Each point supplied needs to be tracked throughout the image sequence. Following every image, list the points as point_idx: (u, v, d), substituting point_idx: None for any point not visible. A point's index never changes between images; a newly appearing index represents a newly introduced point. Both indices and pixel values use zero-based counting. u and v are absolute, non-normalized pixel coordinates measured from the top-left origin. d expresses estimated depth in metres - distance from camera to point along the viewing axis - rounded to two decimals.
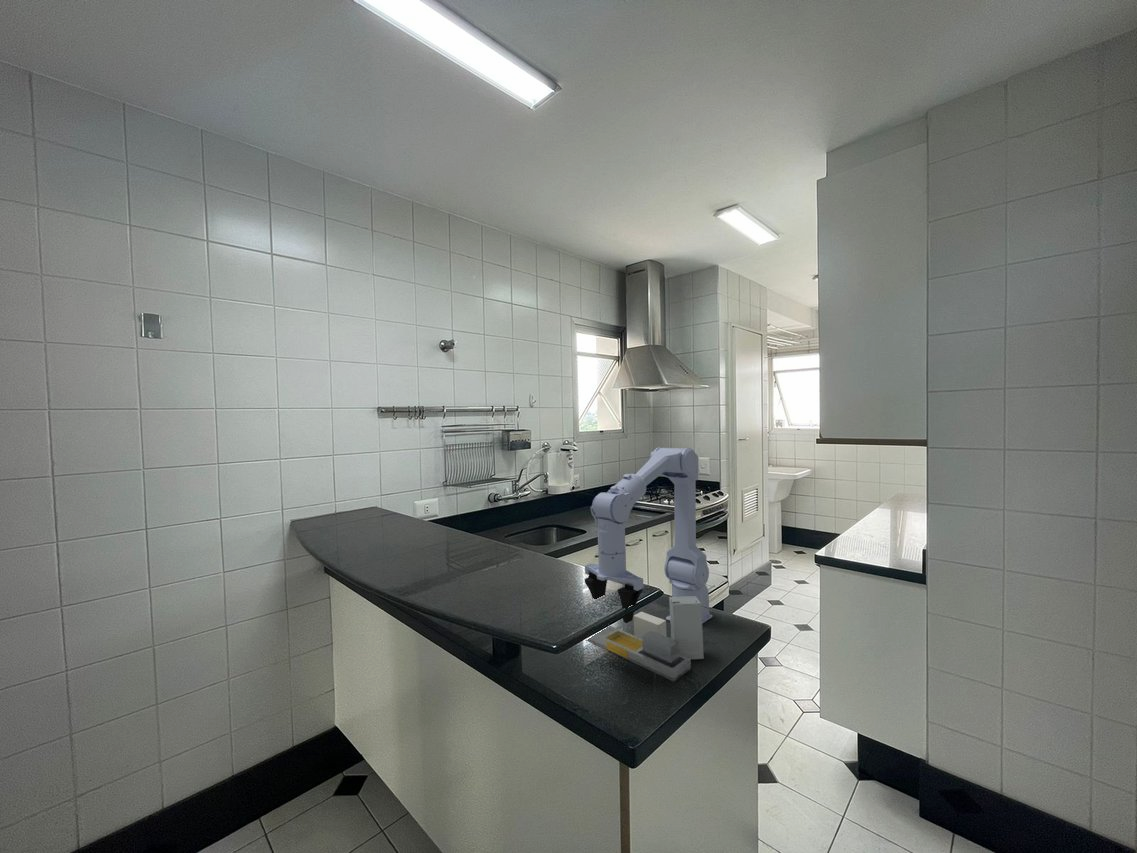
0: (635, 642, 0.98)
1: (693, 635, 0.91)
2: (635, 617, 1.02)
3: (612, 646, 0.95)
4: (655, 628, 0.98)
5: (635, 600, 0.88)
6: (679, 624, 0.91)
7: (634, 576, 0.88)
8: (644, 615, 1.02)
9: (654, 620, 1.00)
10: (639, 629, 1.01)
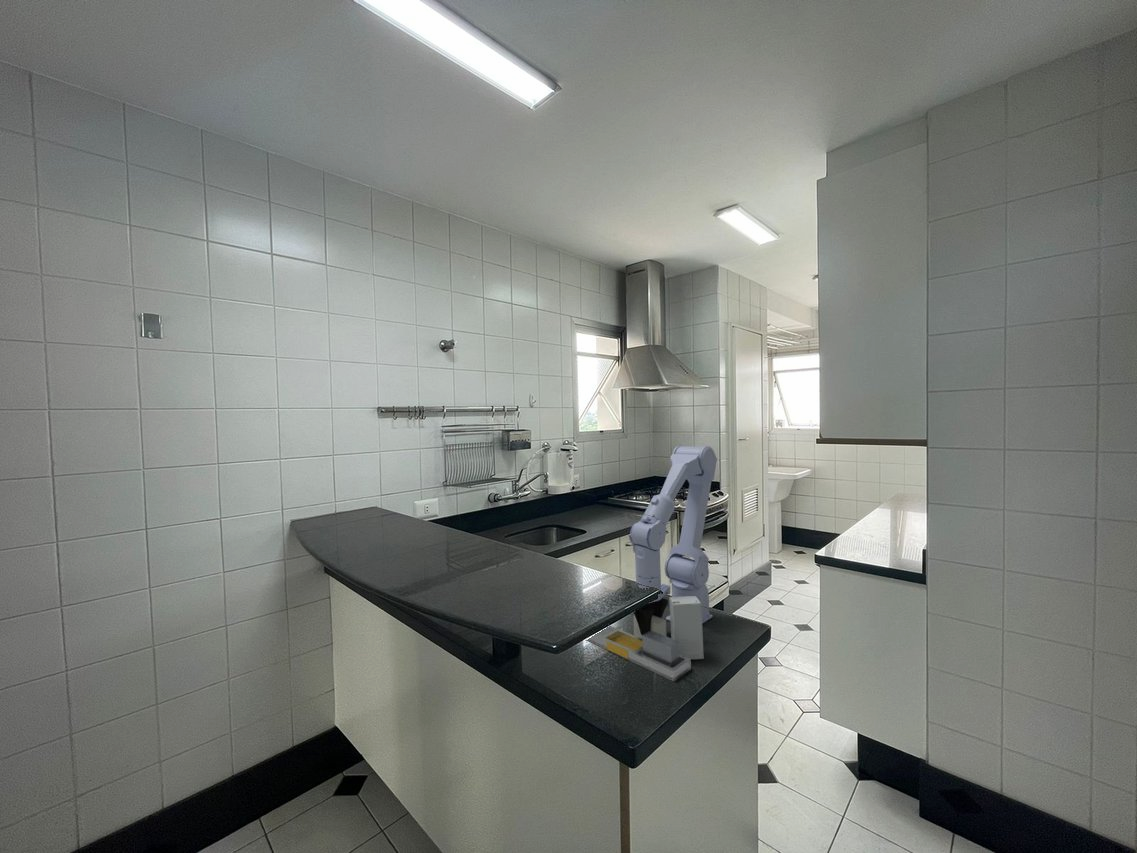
0: (635, 642, 0.98)
1: (693, 635, 0.91)
2: (635, 617, 1.02)
3: (612, 646, 0.95)
4: (655, 627, 0.98)
5: (646, 620, 0.98)
6: (679, 624, 0.91)
7: None
8: None
9: (654, 619, 1.00)
10: None
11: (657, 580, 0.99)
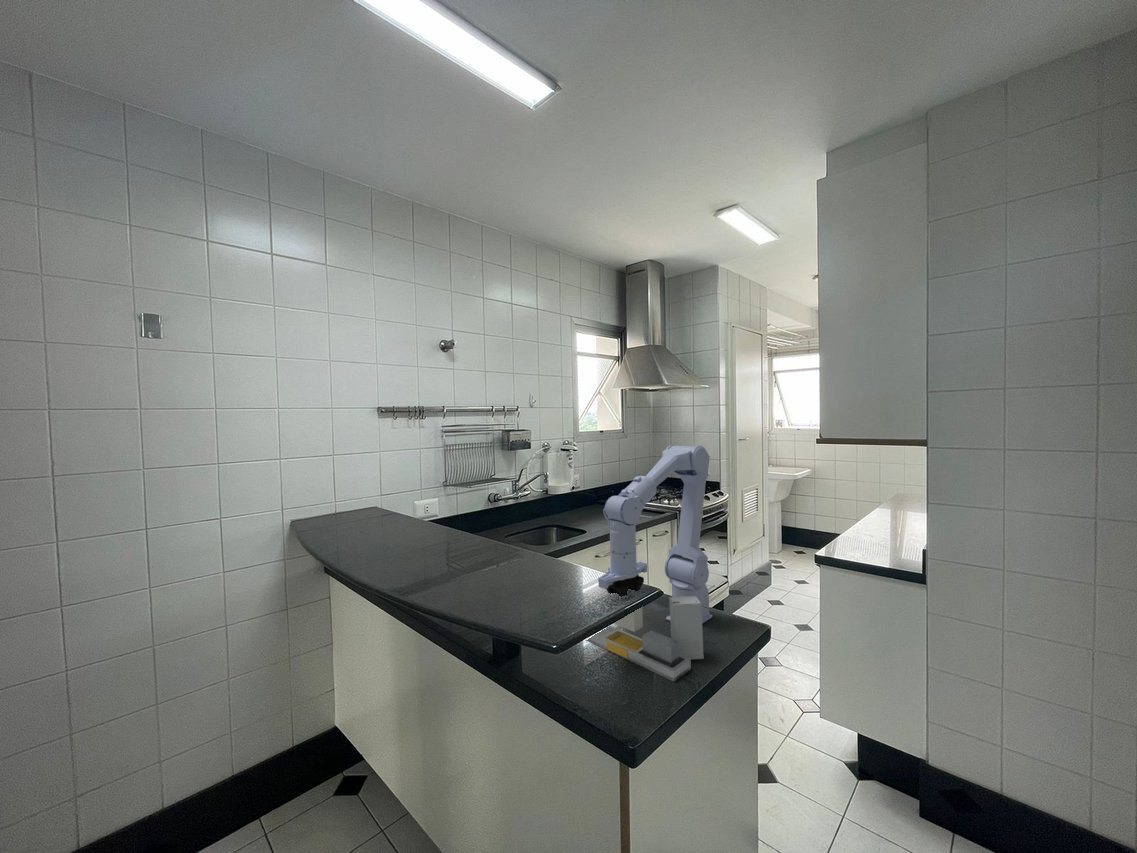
0: (635, 642, 0.98)
1: (693, 635, 0.91)
2: None
3: (612, 646, 0.95)
4: None
5: None
6: (679, 624, 0.91)
7: (613, 578, 0.92)
8: None
9: None
10: None
11: (632, 556, 0.94)
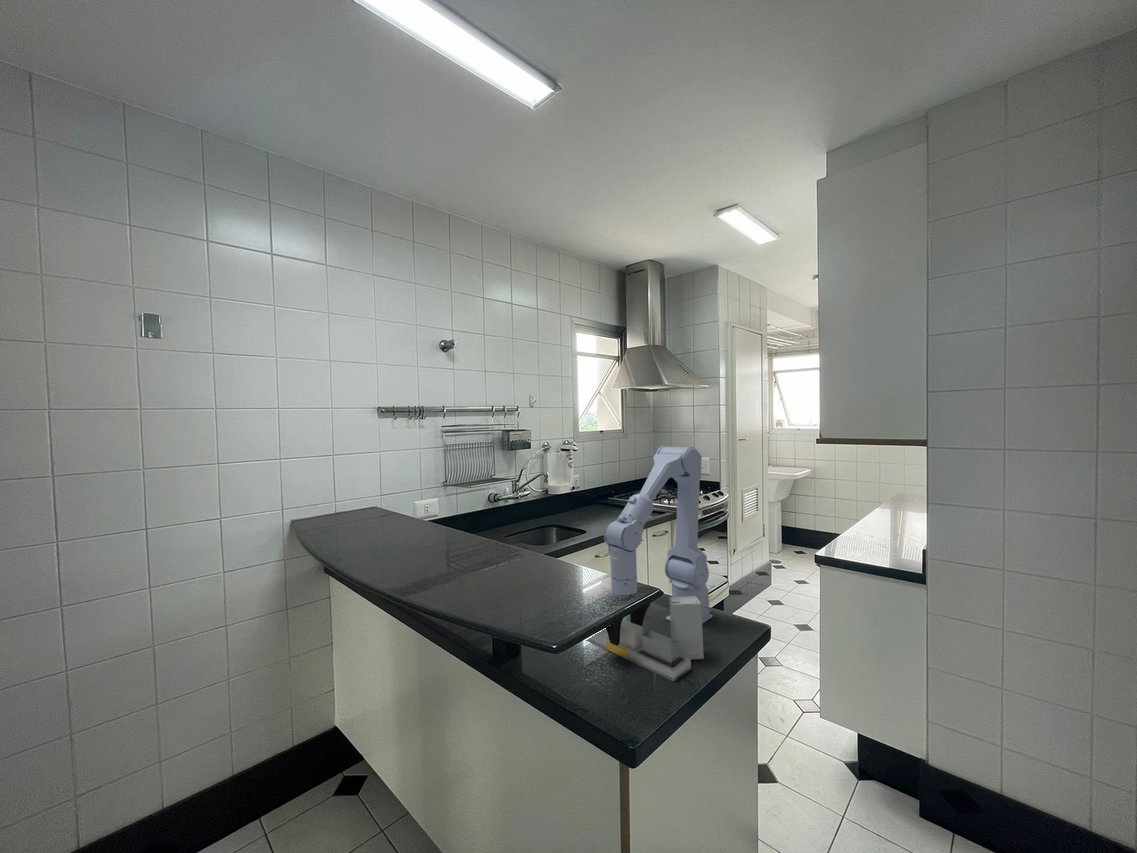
0: None
1: (693, 635, 0.91)
2: None
3: (612, 646, 0.95)
4: (631, 634, 0.93)
5: None
6: (679, 624, 0.91)
7: None
8: None
9: (631, 626, 0.95)
10: None
11: (633, 582, 0.94)
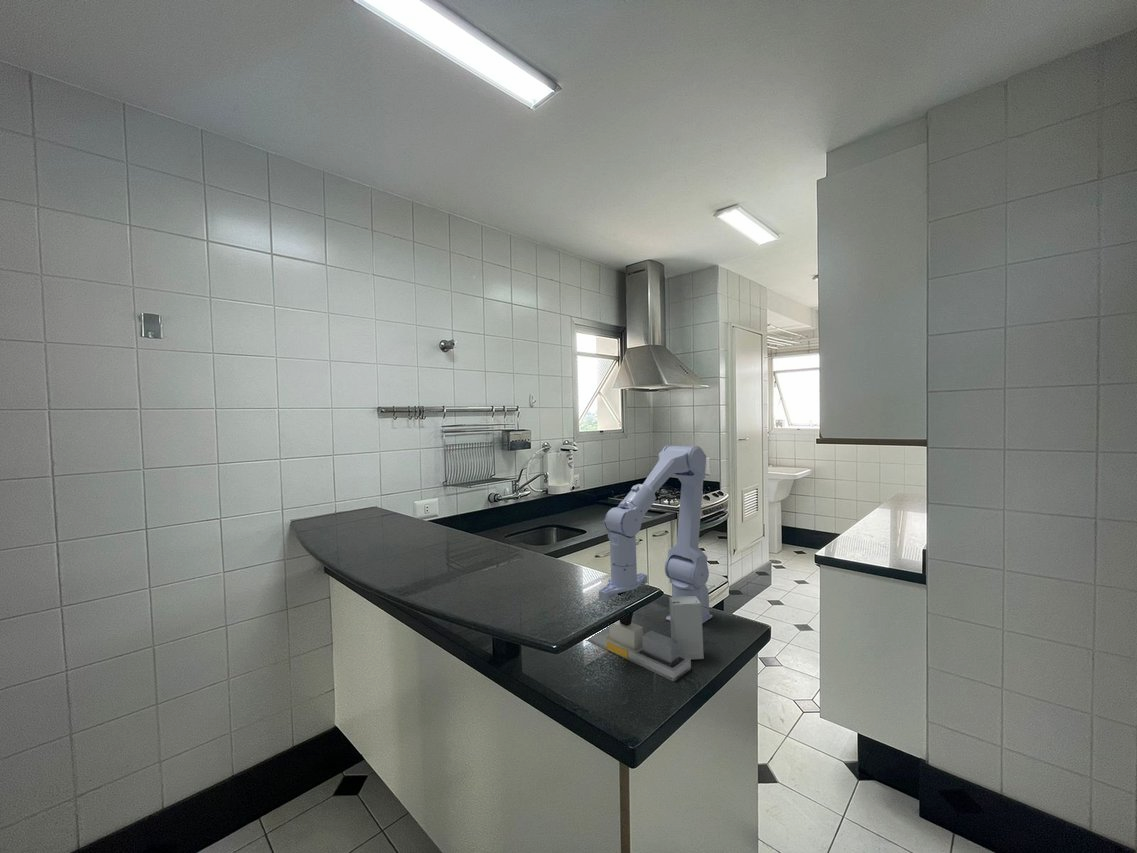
0: None
1: (693, 635, 0.91)
2: None
3: (612, 646, 0.95)
4: (631, 634, 0.93)
5: None
6: (679, 624, 0.91)
7: None
8: None
9: (631, 626, 0.95)
10: (615, 635, 0.97)
11: (632, 568, 0.94)
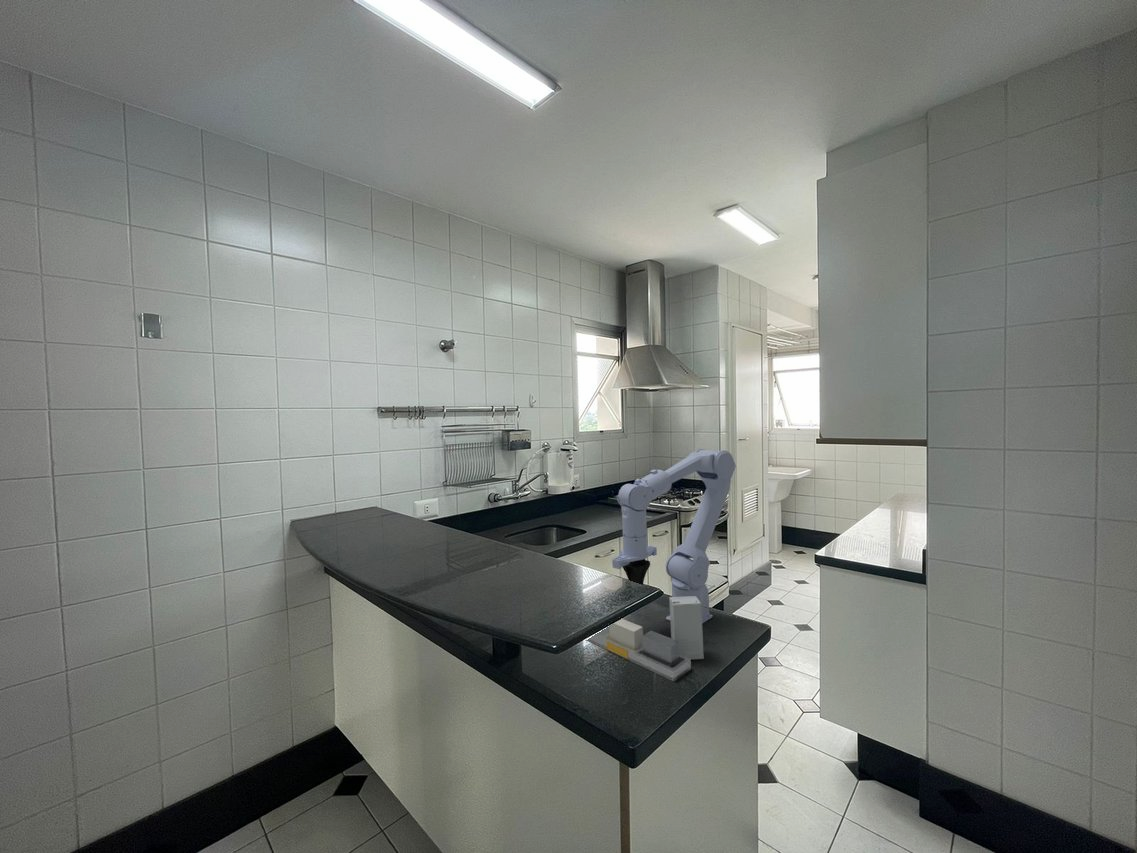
0: None
1: (693, 635, 0.91)
2: None
3: (612, 646, 0.95)
4: (631, 634, 0.93)
5: (636, 576, 1.02)
6: (679, 624, 0.91)
7: (625, 559, 1.00)
8: (621, 621, 0.98)
9: (631, 626, 0.95)
10: (615, 635, 0.97)
11: (643, 539, 1.02)
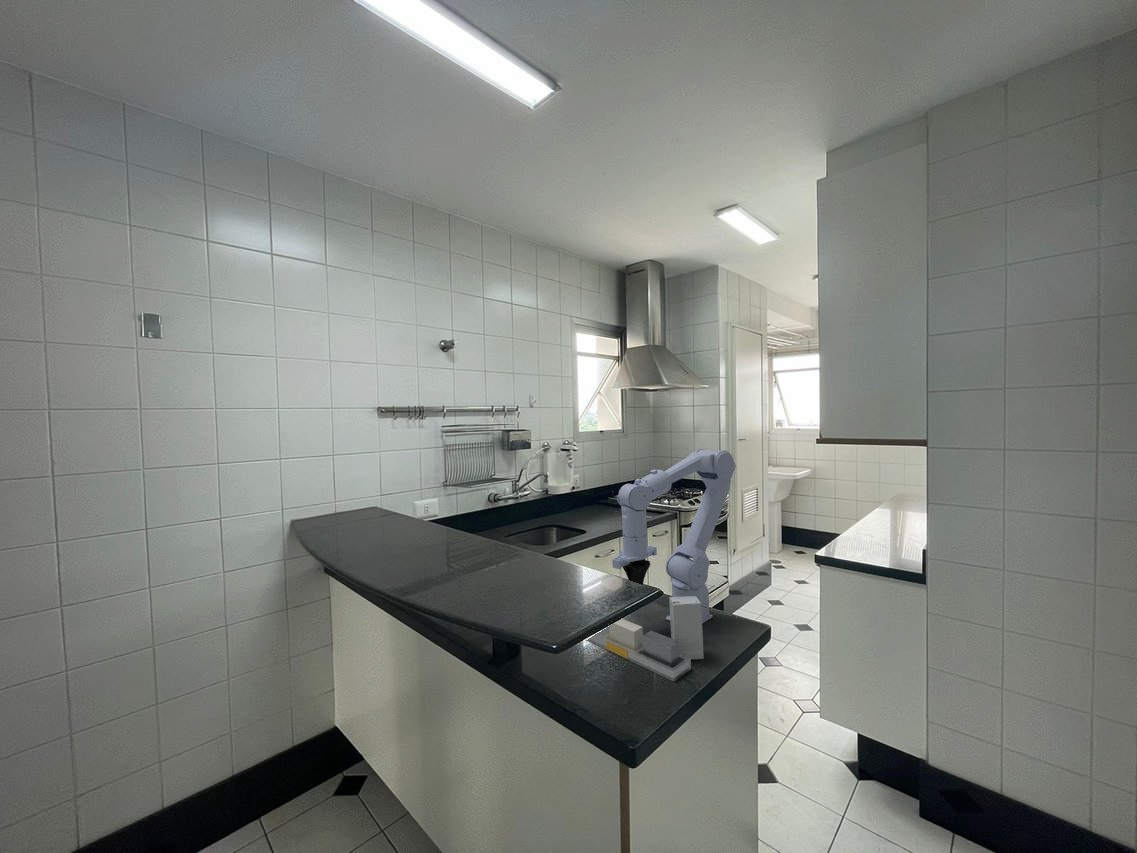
0: None
1: (693, 635, 0.91)
2: None
3: (612, 646, 0.95)
4: (631, 634, 0.93)
5: (636, 576, 1.02)
6: (679, 624, 0.91)
7: (625, 559, 1.00)
8: (621, 621, 0.98)
9: (631, 626, 0.95)
10: (615, 635, 0.97)
11: (643, 539, 1.02)
